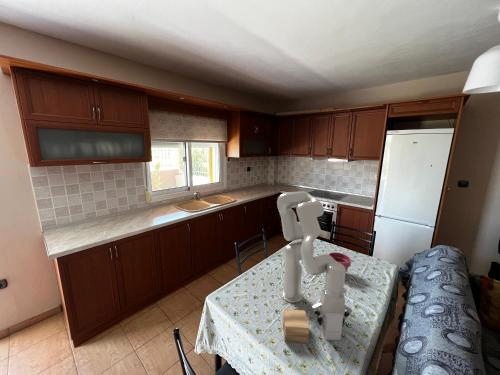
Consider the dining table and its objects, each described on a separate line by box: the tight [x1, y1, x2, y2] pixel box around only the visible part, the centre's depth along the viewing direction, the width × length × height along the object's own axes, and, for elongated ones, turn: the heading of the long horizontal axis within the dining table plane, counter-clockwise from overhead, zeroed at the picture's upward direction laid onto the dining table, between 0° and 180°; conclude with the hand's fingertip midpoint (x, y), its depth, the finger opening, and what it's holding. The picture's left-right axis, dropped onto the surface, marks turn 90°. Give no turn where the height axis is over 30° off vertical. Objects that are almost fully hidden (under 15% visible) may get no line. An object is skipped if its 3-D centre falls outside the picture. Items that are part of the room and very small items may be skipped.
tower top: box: [282, 308, 310, 337], centre depth 94 cm, size 10×10×4 cm
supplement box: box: [318, 313, 343, 341], centre depth 94 cm, size 7×7×13 cm
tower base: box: [282, 316, 309, 345], centre depth 95 cm, size 10×10×4 cm
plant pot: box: [328, 251, 352, 276], centre depth 139 cm, size 14×14×13 cm
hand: (330, 324), depth 94 cm, fingers open, 9 cm apart
